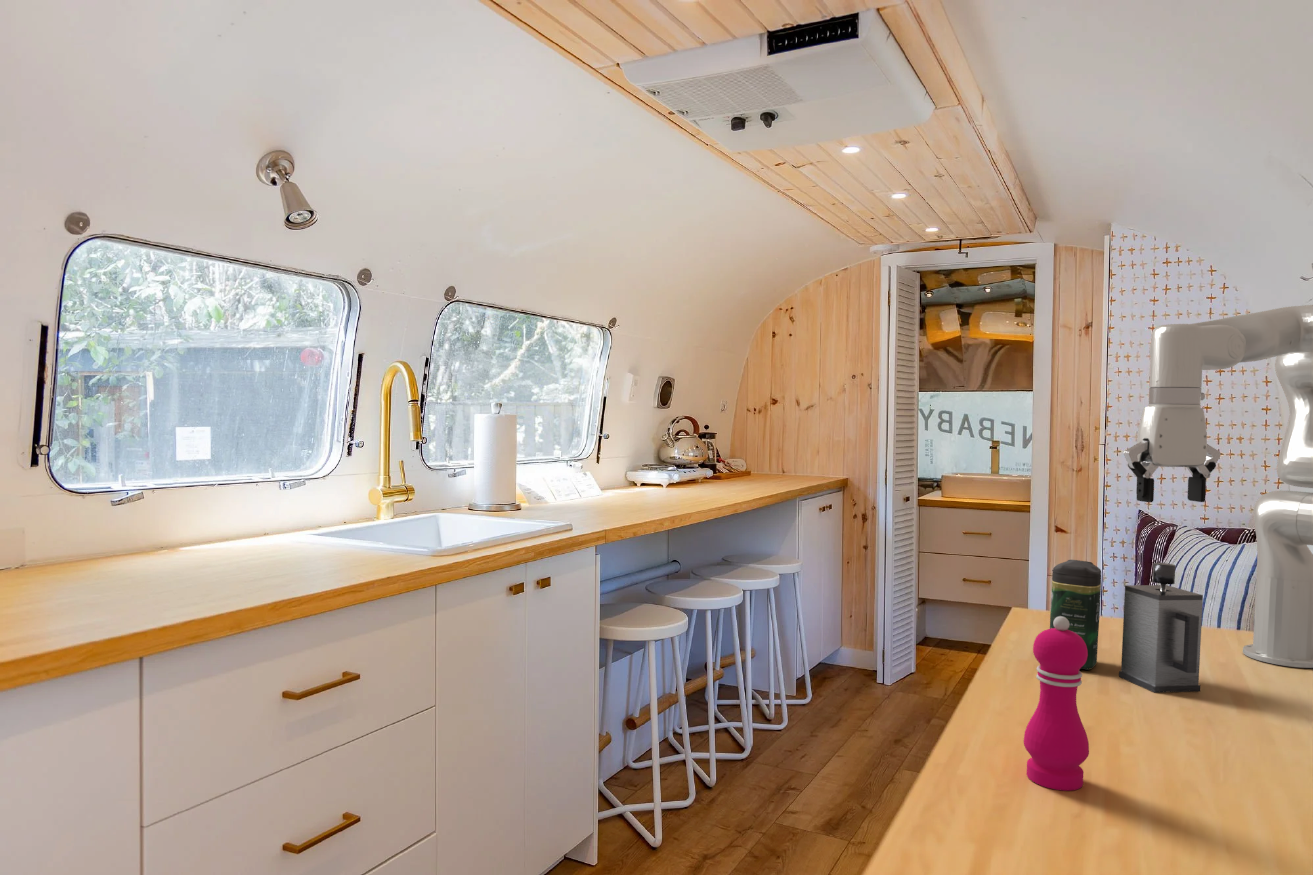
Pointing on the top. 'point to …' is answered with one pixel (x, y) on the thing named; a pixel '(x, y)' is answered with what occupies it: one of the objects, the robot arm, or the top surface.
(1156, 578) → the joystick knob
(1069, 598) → the coffee jar
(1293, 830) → the top surface
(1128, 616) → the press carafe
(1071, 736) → the pepper mill
